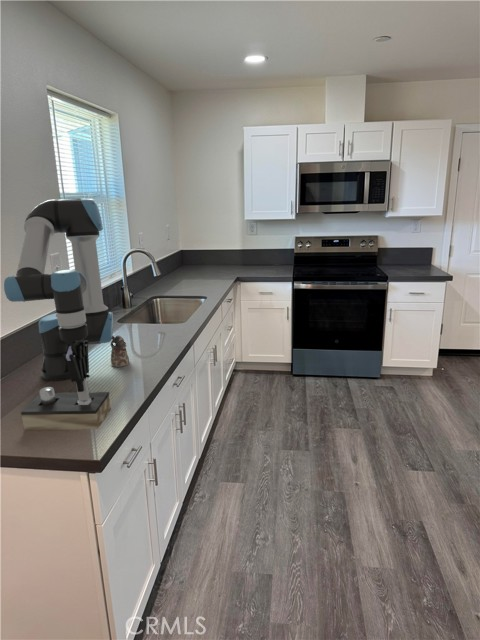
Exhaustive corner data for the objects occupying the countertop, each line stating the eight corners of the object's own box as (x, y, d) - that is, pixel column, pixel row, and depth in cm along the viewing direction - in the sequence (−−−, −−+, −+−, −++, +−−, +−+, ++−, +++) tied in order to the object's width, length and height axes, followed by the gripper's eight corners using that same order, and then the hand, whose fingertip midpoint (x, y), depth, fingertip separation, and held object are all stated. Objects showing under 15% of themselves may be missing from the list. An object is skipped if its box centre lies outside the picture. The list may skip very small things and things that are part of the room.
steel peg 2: (82, 413, 133) (80, 396, 132) (95, 412, 133) (93, 396, 131) (77, 419, 129) (75, 403, 128) (90, 419, 129) (88, 402, 128)
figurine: (124, 367, 170) (121, 338, 166) (108, 366, 171) (104, 337, 168) (132, 360, 176) (129, 332, 173) (116, 359, 178) (113, 332, 174)
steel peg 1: (46, 403, 133) (43, 387, 131) (58, 403, 132) (56, 386, 131) (40, 409, 129) (36, 392, 127) (53, 409, 129) (50, 392, 127)
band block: (43, 410, 138) (40, 393, 136) (111, 409, 137) (108, 391, 135) (24, 430, 126) (20, 411, 125) (98, 429, 125) (95, 410, 124)
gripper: (69, 318, 129) (80, 390, 136) (49, 332, 117) (62, 410, 123) (93, 317, 129) (103, 389, 136) (76, 331, 116) (88, 409, 123)
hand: (84, 399), depth 129 cm, fingers closed
